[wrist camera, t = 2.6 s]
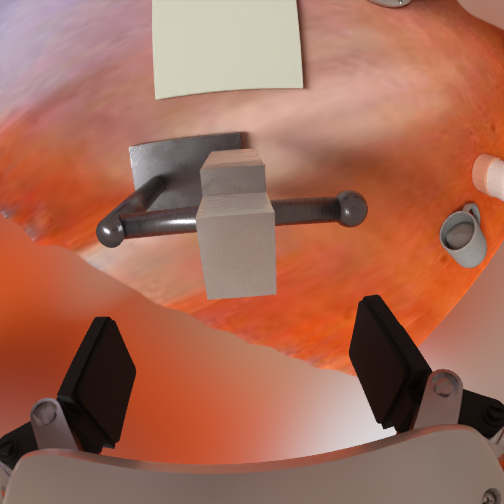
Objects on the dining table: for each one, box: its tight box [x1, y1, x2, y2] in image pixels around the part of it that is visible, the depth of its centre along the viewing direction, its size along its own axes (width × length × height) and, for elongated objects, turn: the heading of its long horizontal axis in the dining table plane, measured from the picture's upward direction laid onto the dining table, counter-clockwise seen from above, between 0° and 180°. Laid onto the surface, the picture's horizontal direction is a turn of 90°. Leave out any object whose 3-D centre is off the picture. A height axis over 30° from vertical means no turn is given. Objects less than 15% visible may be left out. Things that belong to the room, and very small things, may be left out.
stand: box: [96, 132, 368, 248], centre depth 28 cm, size 24×11×18 cm, turn 93°
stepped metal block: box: [195, 148, 276, 300], centre depth 22 cm, size 4×8×14 cm, turn 3°
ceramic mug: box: [440, 203, 487, 268], centre depth 38 cm, size 11×8×8 cm
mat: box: [152, 0, 303, 100], centre depth 27 cm, size 18×18×1 cm
